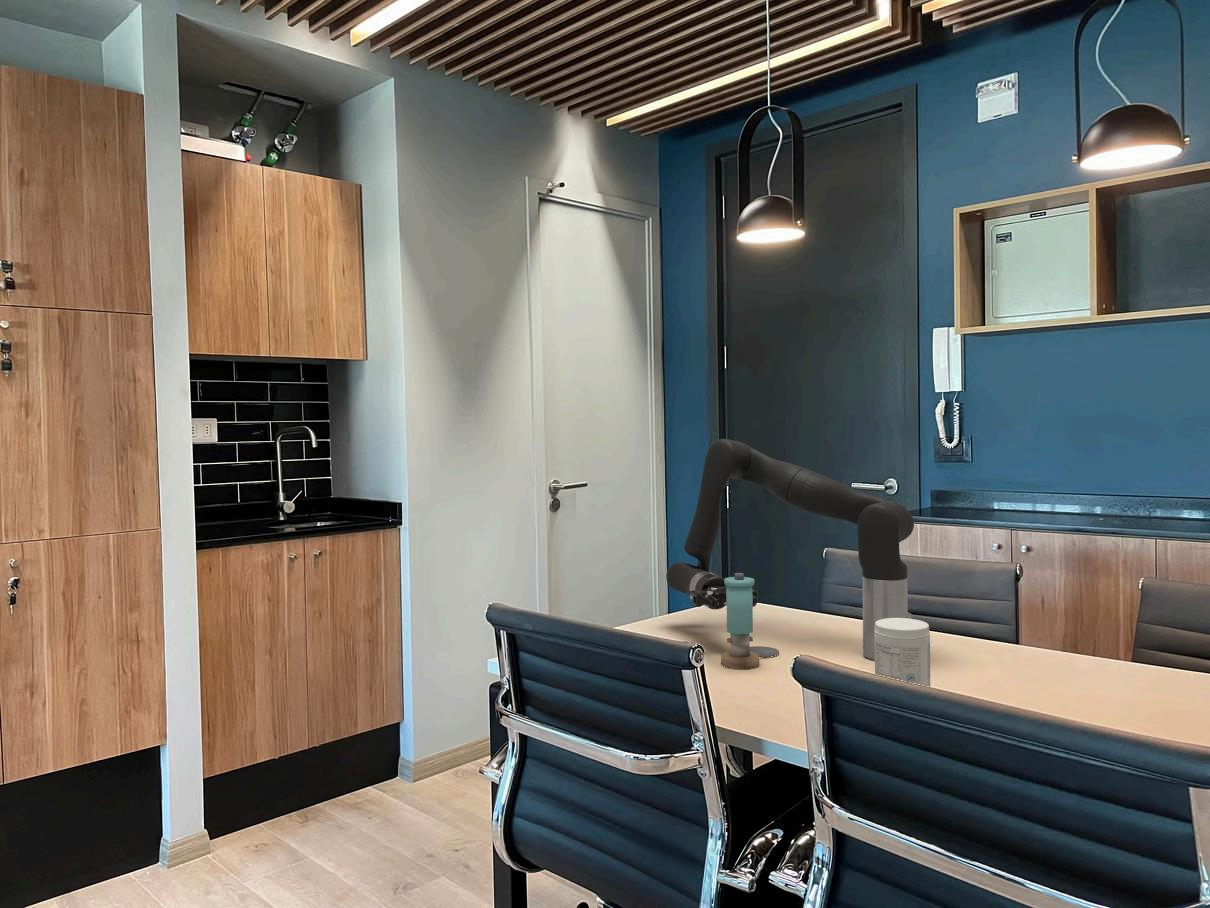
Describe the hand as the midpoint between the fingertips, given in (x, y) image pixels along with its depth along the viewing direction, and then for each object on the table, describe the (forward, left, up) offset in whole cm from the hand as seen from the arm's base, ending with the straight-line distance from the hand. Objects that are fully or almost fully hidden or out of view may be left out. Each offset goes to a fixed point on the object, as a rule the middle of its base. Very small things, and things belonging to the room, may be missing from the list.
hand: (735, 603), depth 193 cm
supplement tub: (-18, +36, -13) cm, 42 cm away
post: (0, +3, -13) cm, 13 cm away
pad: (-7, -4, -13) cm, 15 cm away
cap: (0, +3, -6) cm, 6 cm away
